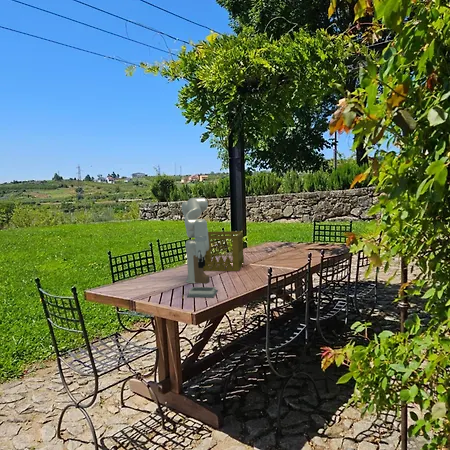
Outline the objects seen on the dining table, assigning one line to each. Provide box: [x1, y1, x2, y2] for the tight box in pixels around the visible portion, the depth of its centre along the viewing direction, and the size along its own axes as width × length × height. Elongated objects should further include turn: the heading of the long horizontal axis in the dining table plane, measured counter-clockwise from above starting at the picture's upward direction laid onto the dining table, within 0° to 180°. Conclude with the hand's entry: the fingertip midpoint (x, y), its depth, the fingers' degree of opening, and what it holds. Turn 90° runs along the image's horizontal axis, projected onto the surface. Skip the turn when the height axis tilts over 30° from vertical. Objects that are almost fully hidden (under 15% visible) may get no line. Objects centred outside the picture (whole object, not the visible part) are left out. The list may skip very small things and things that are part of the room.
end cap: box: [186, 286, 219, 299], centre depth 256 cm, size 16×17×4 cm
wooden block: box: [193, 255, 211, 285], centre depth 254 cm, size 9×4×18 cm, turn 59°
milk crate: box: [203, 230, 245, 272], centre depth 345 cm, size 35×35×30 cm
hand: (201, 266), depth 254 cm, fingers closed on wooden block, 5 cm apart
